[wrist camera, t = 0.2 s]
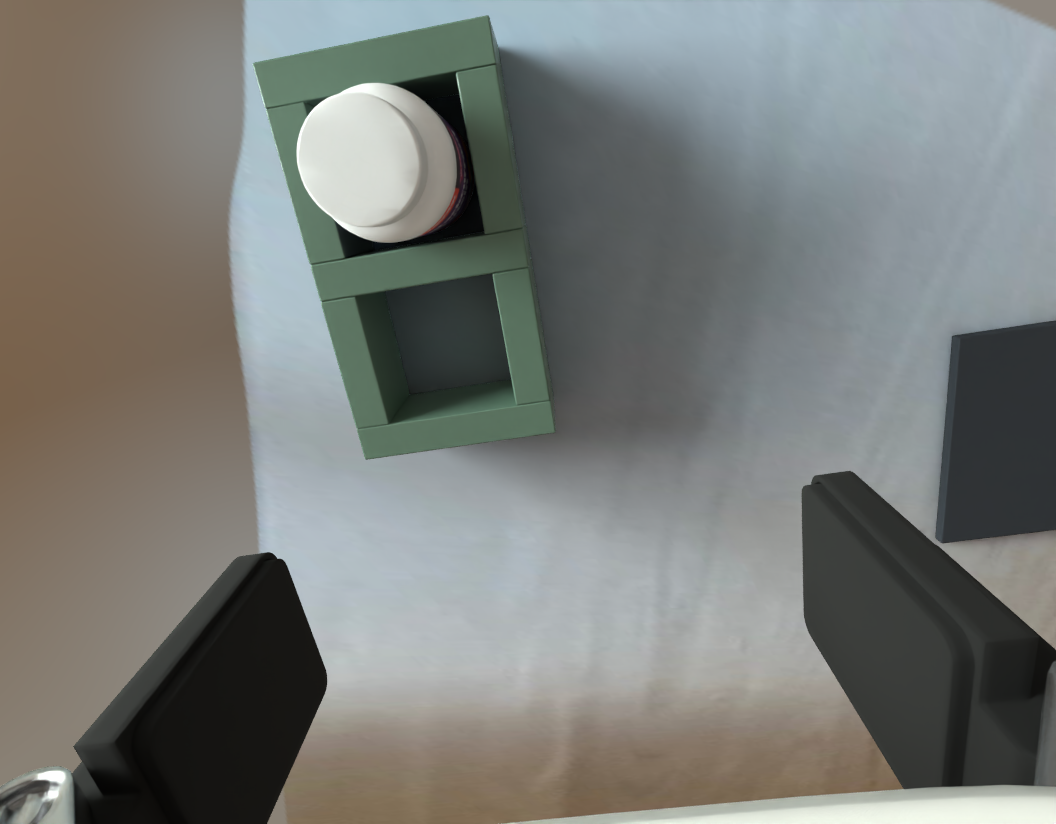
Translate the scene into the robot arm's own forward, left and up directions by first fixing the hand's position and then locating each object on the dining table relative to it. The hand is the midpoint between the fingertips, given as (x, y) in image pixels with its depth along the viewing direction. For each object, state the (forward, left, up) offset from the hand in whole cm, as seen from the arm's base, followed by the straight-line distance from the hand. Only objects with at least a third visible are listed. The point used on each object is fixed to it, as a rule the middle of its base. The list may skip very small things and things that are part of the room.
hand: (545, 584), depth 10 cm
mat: (+9, +25, -21) cm, 34 cm away
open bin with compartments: (-5, -5, -21) cm, 22 cm away
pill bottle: (-8, -5, -21) cm, 23 cm away
